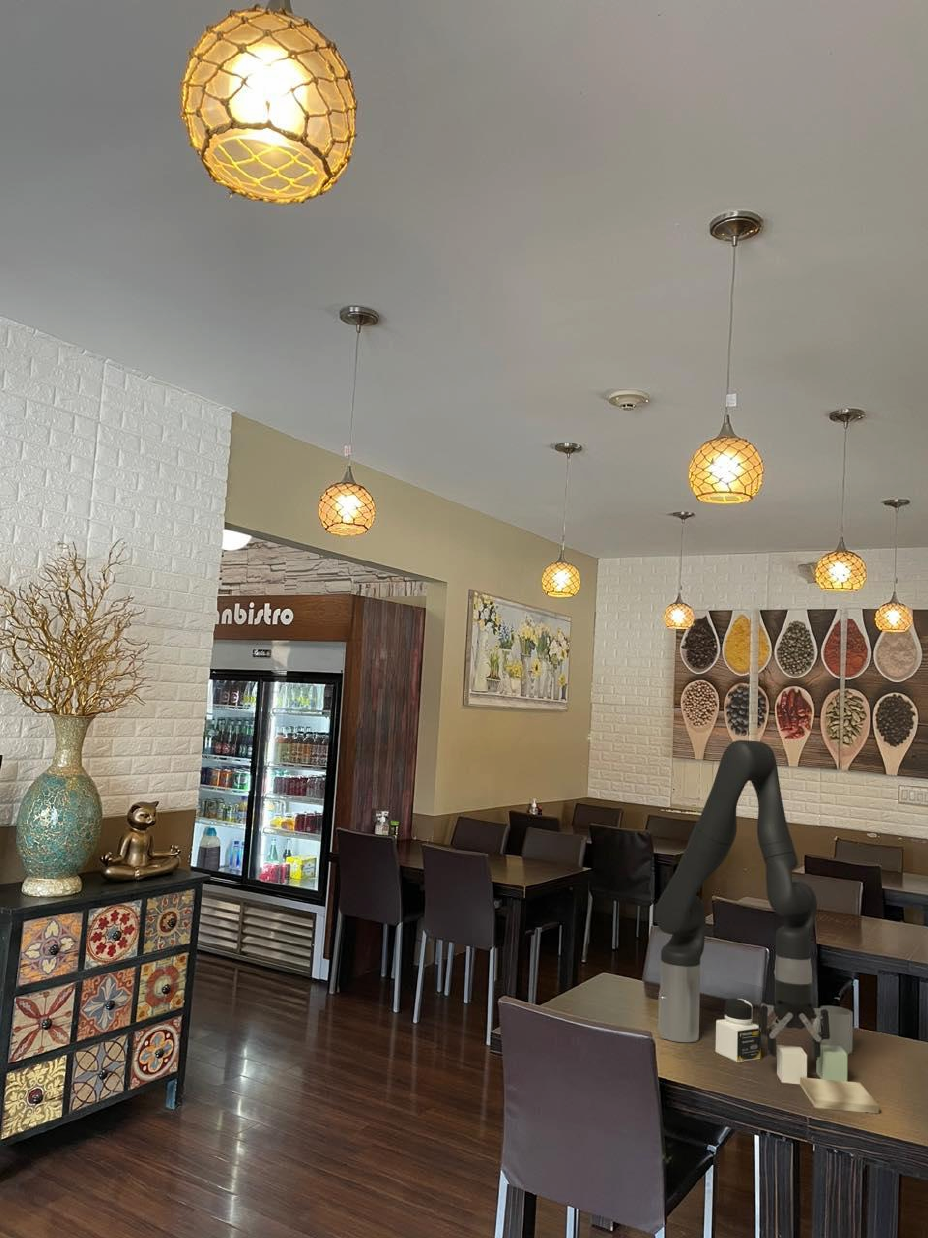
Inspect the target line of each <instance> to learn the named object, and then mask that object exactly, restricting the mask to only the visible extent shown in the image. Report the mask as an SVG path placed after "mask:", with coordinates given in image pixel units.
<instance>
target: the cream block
mask: <svg viewBox="0 0 928 1238" xmlns="http://www.w3.org/2000/svg"><path fill="white" fill-rule="evenodd" d="M776 1075H777V1076H778V1078H779V1079H780V1082H781V1083H782V1084H783V1083H784V1084H795V1085H800V1077H802V1078H808V1054H807V1053H806V1052H805V1051H804V1049H803V1048H802V1046H795V1045H794V1046H793V1045H779V1044H776Z"/></svg>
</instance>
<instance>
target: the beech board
mask: <svg viewBox="0 0 928 1238" xmlns="http://www.w3.org/2000/svg"><path fill="white" fill-rule="evenodd" d="M799 1086H800V1087H801V1089H802V1090H803V1091H804V1093H805V1095H806V1096H807V1098H808V1099H809V1100H810V1102H811V1105H813V1106H814V1108H816V1109H823V1110H825V1109H826V1110H834V1111H845V1112H846V1111H847V1112H857V1113H865V1112H869V1113H868V1114H876V1113H879V1114H880V1105H879V1104H878V1103H877V1102H876V1100H875V1099H874V1098H873V1096H871V1095H870V1092H868V1091H867V1090H866V1088H865V1087H864V1086H863V1085H862V1084H861V1082H855V1081H847V1082H846V1081H835V1080H824V1079H821V1078H811V1077H807V1078H802V1077H800V1084H799Z"/></svg>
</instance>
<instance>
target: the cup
mask: <svg viewBox="0 0 928 1238" xmlns="http://www.w3.org/2000/svg"><path fill="white" fill-rule="evenodd" d="M820 1007H824V1008H825V1009H826V1010H827V1011H828V1016H829V1030H830V1038H829V1039H824V1040H822V1041H821V1043H820V1045H831V1046H841V1048H842V1049H843V1050H844V1051H845V1052H846V1053H847V1056H848V1055H850V1054H852V1052H853V1026H854V1025H853V1022H854V1021H853V1011H852V1010H850V1009H848V1008H845V1007H842V1006H834V1005H821V1006H820ZM811 1025H812V1026H813V1027H814V1029H815V1030H816V1032H817V1033H818V1032H821V1026H820V1019H819V1018H818V1017H817V1016H816V1017H815V1018H814V1019H813V1022H812V1024H811Z"/></svg>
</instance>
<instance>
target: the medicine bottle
mask: <svg viewBox="0 0 928 1238" xmlns="http://www.w3.org/2000/svg"><path fill="white" fill-rule="evenodd" d="M753 1008H754V1007H753V1004H752V1003H751V1002H749V1001H748V1000H745V999H742V998H729V999H727V1000H726V1001H725V1002H724V1019H717V1020H716V1022H715V1052H716V1053H717V1054H719V1055H721V1056H723V1057H725V1058H727V1059H729V1060H730V1061H733V1062H736V1063H743V1062H749V1061H750V1062H751V1061H755V1060H760V1059H761V1058H762V1057H761V1055H762V1054H761V1052H762V1051H761V1048H762V1047H761V1046H762V1034H761V1032H760V1031H759V1029H758V1026H759V1024H756V1023H753Z"/></svg>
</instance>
